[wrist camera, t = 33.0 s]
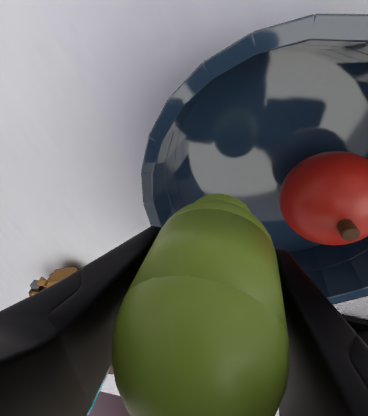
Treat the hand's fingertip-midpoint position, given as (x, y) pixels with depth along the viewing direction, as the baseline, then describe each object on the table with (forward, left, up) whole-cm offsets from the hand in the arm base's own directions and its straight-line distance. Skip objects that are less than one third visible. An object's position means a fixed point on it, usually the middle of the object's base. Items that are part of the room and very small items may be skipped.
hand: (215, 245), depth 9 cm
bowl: (-3, 0, -9) cm, 9 cm away
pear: (0, 0, -2) cm, 2 cm away
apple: (-5, 0, -8) cm, 10 cm away
